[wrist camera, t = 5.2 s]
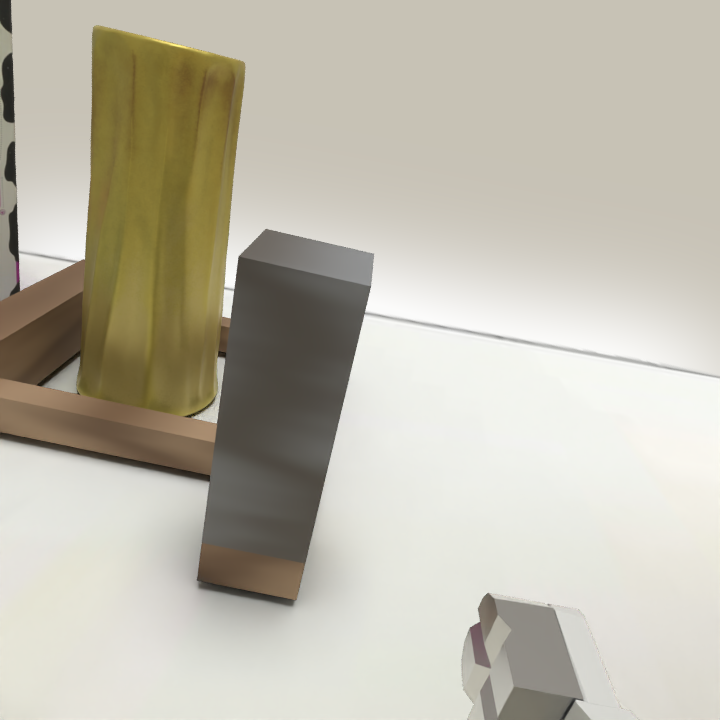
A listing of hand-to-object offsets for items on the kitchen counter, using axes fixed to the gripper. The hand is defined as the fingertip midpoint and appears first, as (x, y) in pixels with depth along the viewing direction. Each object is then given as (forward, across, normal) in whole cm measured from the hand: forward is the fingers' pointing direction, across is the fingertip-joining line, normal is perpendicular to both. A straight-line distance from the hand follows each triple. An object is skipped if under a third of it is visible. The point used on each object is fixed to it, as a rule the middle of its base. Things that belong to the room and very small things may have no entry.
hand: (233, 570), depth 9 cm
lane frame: (+13, +6, +6) cm, 16 cm away
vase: (+16, +7, +7) cm, 19 cm away
